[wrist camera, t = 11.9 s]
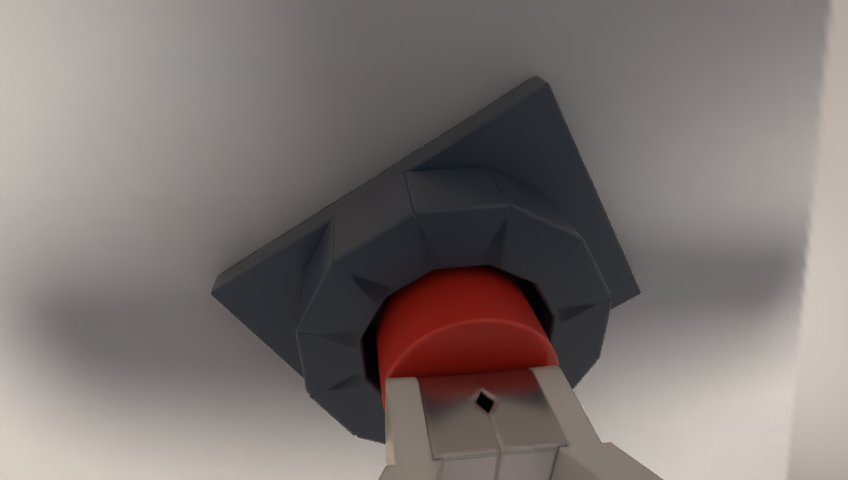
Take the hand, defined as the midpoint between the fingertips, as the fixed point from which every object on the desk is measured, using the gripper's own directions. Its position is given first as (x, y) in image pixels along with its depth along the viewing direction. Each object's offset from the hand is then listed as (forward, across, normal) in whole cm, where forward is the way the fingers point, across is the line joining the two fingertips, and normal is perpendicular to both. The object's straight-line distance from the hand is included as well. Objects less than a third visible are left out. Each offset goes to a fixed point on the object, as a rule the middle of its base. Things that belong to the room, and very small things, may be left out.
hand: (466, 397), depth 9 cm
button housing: (+4, 0, 0) cm, 4 cm away
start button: (+2, 0, 0) cm, 2 cm away
